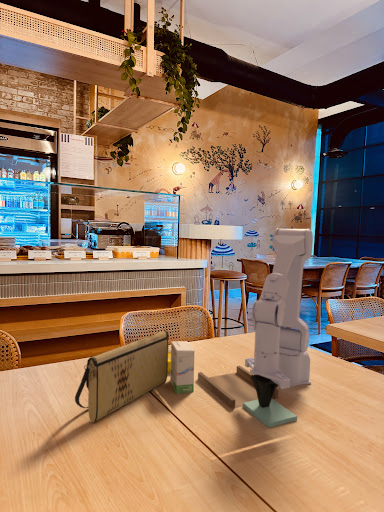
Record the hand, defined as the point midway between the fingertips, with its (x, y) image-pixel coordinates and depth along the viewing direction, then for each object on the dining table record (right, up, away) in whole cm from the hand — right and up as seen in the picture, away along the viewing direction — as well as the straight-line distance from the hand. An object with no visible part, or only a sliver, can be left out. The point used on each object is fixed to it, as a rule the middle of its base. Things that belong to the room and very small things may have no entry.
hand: (264, 405), depth 85 cm
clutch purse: (-34, -1, +5) cm, 34 cm away
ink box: (-20, 0, +12) cm, 23 cm away
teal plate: (+1, -2, -2) cm, 3 cm away
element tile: (-28, +1, +29) cm, 40 cm away
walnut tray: (-5, -1, +10) cm, 11 cm away
